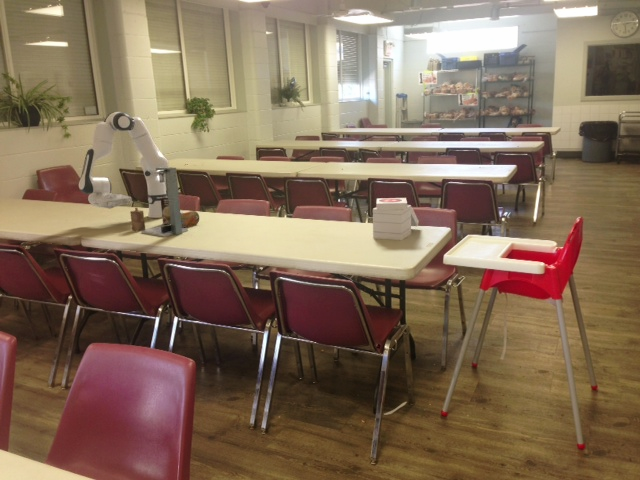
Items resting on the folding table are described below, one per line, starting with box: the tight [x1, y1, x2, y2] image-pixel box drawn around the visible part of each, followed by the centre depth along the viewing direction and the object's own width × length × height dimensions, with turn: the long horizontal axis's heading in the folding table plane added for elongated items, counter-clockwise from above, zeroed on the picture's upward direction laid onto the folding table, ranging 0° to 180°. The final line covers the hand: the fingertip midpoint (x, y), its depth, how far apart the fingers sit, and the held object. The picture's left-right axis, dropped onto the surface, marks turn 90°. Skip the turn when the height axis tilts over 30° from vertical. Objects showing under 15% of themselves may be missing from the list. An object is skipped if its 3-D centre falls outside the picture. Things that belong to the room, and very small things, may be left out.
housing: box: [129, 206, 146, 232], centre depth 325 cm, size 5×5×13 cm
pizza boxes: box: [372, 197, 420, 241], centre depth 293 cm, size 19×30×18 cm, turn 153°
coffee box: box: [161, 196, 171, 225], centre depth 339 cm, size 9×6×16 cm
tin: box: [181, 210, 200, 228], centre depth 331 cm, size 15×3×8 cm, turn 143°
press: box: [140, 166, 189, 238], centre depth 311 cm, size 22×22×36 cm
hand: (122, 202), depth 330 cm, fingers open, 8 cm apart
